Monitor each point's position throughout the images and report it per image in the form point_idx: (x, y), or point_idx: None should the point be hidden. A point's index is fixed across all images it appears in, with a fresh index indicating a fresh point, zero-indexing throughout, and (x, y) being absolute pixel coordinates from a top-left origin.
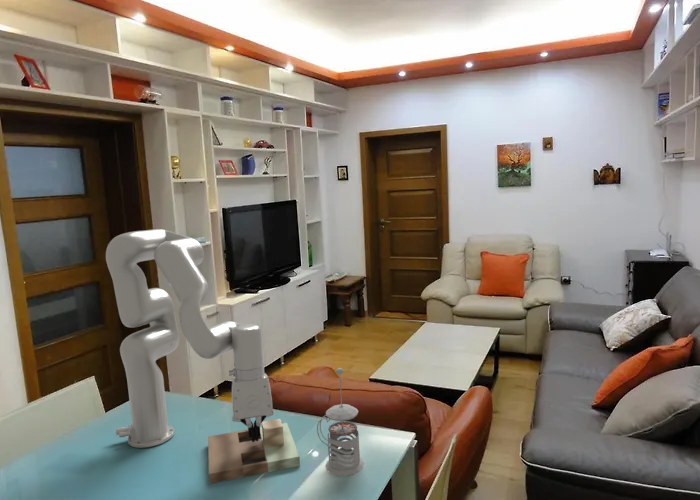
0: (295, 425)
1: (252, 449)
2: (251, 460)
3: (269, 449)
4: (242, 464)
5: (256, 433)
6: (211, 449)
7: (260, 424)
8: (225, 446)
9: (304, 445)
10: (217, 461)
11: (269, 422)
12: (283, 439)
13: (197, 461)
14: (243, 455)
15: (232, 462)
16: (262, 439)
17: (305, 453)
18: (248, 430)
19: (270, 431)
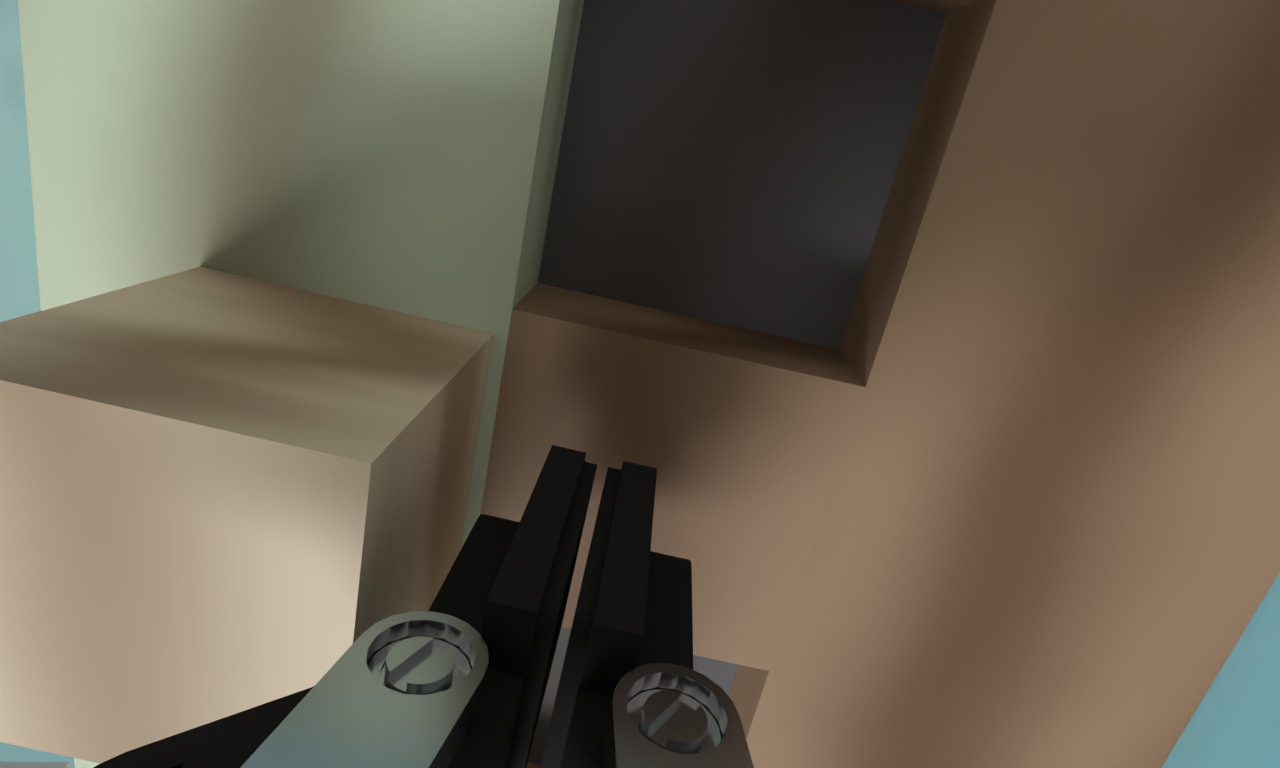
0: (54, 756)
1: (672, 401)
2: (717, 302)
3: (441, 249)
4: (854, 273)
5: (550, 518)
6: (1151, 710)
7: (378, 628)
8: (963, 681)
9: (3, 296)
10: (1259, 360)
11: (181, 704)
12: (140, 284)
13: (1243, 659)
14: (820, 367)
15: (1089, 194)
16: None
17: (13, 85)
18: (690, 657)
19: (247, 403)
